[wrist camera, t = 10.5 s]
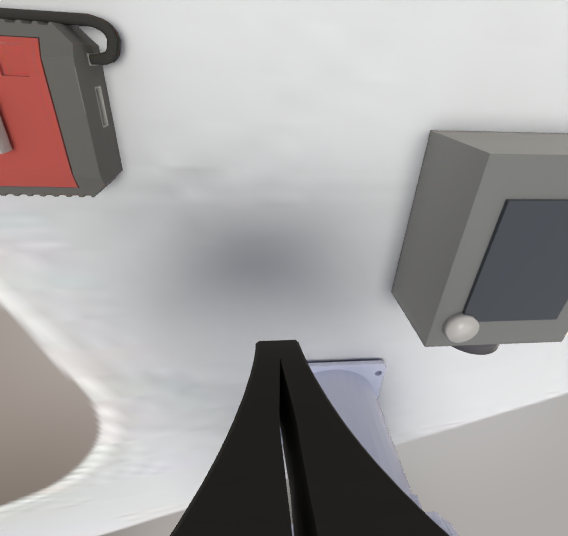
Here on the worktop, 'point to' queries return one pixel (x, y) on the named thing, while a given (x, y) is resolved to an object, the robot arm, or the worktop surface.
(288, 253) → the worktop surface
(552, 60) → the worktop surface
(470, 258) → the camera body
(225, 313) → the worktop surface
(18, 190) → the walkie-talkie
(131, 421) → the worktop surface
